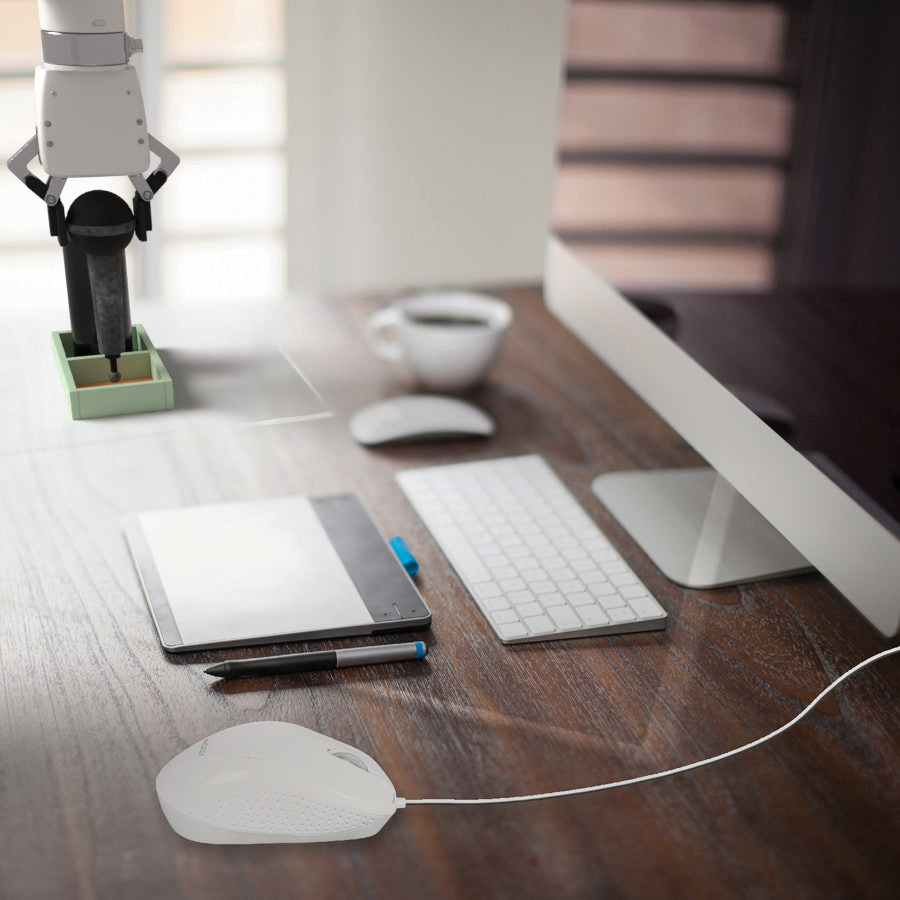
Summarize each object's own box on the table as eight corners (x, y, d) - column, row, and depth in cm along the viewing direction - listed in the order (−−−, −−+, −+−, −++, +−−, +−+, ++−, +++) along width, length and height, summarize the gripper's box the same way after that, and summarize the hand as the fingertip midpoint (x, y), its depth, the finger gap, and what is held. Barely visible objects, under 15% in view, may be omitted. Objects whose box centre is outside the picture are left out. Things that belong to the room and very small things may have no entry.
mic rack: (73, 424, 114) (69, 391, 113) (54, 360, 130) (50, 331, 129) (174, 412, 118) (172, 381, 116) (144, 351, 134) (141, 323, 133)
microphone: (67, 388, 117) (45, 193, 109) (105, 367, 123) (88, 180, 115) (125, 398, 115) (108, 200, 107) (161, 376, 121) (148, 187, 113)
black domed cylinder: (78, 379, 124) (61, 213, 116) (72, 360, 129) (55, 199, 122) (138, 373, 126) (125, 209, 119) (130, 354, 132) (116, 196, 124)
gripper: (172, 47, 112) (183, 227, 119) (-17, 47, 106) (7, 237, 113) (187, 55, 106) (197, 244, 113) (-13, 56, 99) (11, 256, 107)
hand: (102, 239), depth 113 cm, fingers closed on microphone, 7 cm apart
